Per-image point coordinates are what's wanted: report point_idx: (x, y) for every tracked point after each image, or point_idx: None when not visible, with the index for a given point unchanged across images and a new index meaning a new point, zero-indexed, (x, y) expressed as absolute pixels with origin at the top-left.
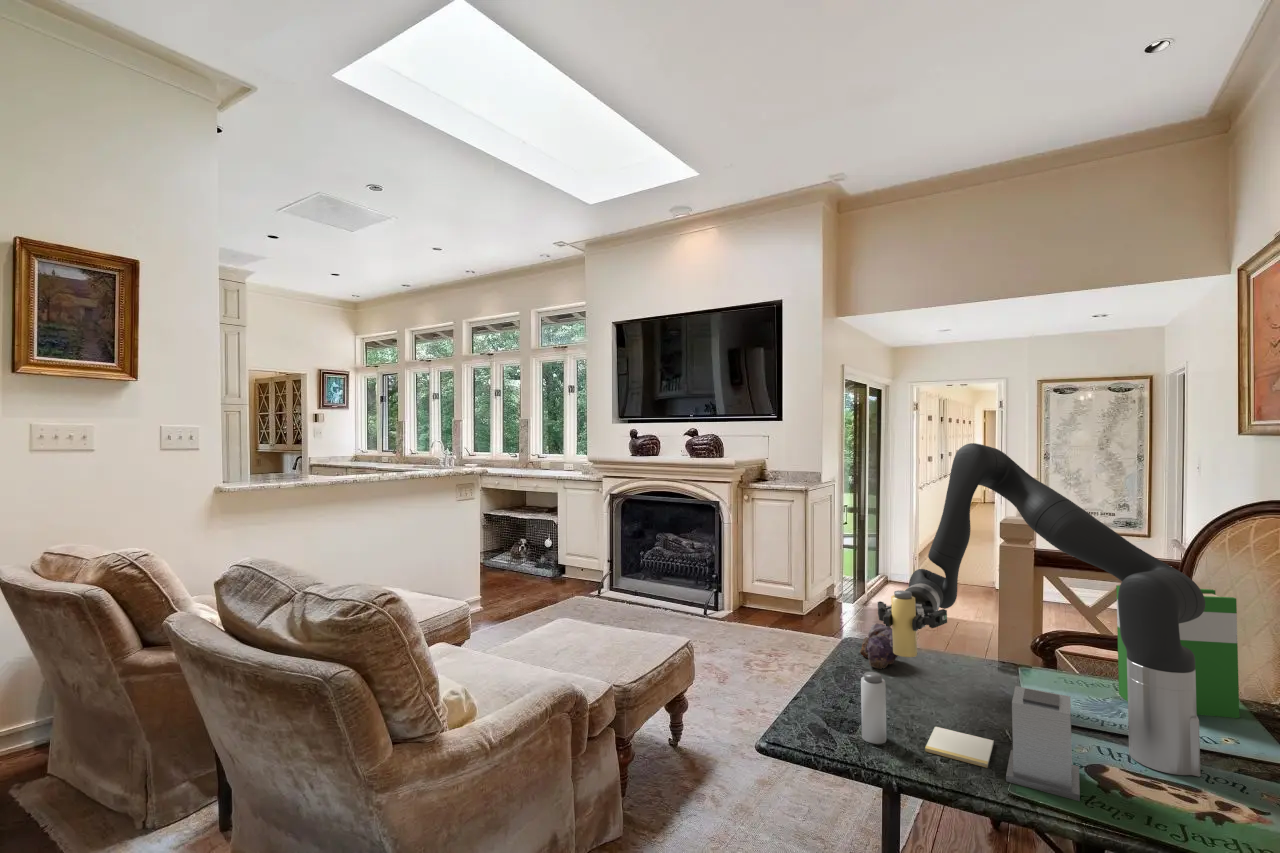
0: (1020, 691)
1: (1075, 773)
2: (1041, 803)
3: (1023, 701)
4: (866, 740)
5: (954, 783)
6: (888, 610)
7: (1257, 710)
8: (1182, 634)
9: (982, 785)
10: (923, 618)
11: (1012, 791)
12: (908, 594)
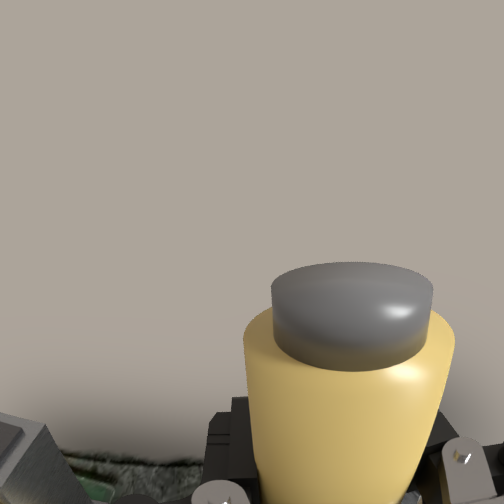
0: (4, 466)
1: None
2: (82, 476)
3: (23, 430)
4: None
5: (184, 480)
6: (462, 439)
7: None
8: None
9: (146, 489)
10: (202, 475)
11: (109, 489)
12: (284, 275)
